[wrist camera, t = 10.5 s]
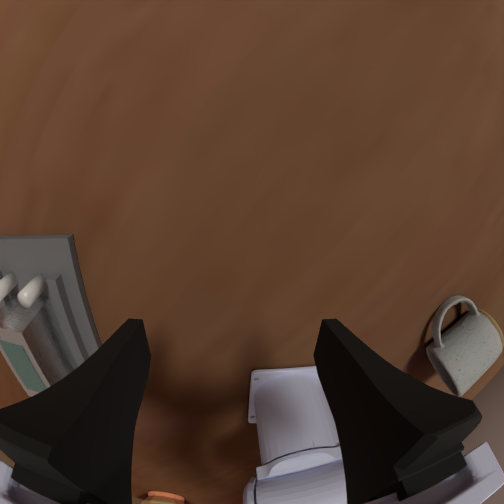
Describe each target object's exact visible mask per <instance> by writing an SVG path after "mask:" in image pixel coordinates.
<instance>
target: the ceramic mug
mask: <svg viewBox="0 0 504 504" xmlns="http://www.w3.org/2000/svg"><path fill="white" fill-rule="evenodd" d="M459 302H461V303H462V302H465V303H466V304H467V306H468V307H469V309H470V311H469V312H468V313H466V314H465V315H464V316H463V317H462V318H460V319H459V320H458V321H457V322H456V323H455V324H454V325H453V326H452V327H451V328H449V329H448V330H447V331H445V332H444V333H443V334H442V335H441V332H440V329H441V324H442V321H443V318H444V315H445V313H446V311H447V310H448V309H449V308H450V307H451V306H452V305H456V304H458V303H459ZM432 332H433V338H434V341H433V342H432V343H430V344H429V345H428V346H427V347H426V352H427V355H428V358H429V359H430V361H431V363H432V365H433V367H434V368H435V370H436V372H437V373H438V375H439V376H440V378H441V379H442V381H443V382H444V383H445V384H446V386H447V387H448V388H449V390H450V391H451V392H452V393H453V394H454V395H455V396H457V397H460V396H462V395H463V394H464V393H465V392H466V391H467V390H468V389H469V388H470V387H471V386H472V385H473V384H474V383H475V382H476V381H477V380H478V379H479V378H480V377H481V376H482V375H483V374H484V373H485V371H486V370H487V369H488V368H489V367H490V366H491V365H492V364H493V363H494V362H495V361H496V359H497V358H498V357H499V355H500V353H501V352H502V350H503V347H504V338H503V334H502V331H501V329H500V327H499V326H498V324H497V322H496V321H495V320H494V319H493V318H492V317H491V316H490V315H489V314H488V313H487V312H485V311H483V310H481V309H477V308H476V306H475V304H474V303H473V302H472V301H471V300H470V299H468V298H466V297H463V296H453V297H450V298H448V299H447V300H446V301H445V302H443V303H442V304H441V305H440V306H439V308H438V309H437V311H436V313H435V315H434V318H433V323H432Z"/></svg>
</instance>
